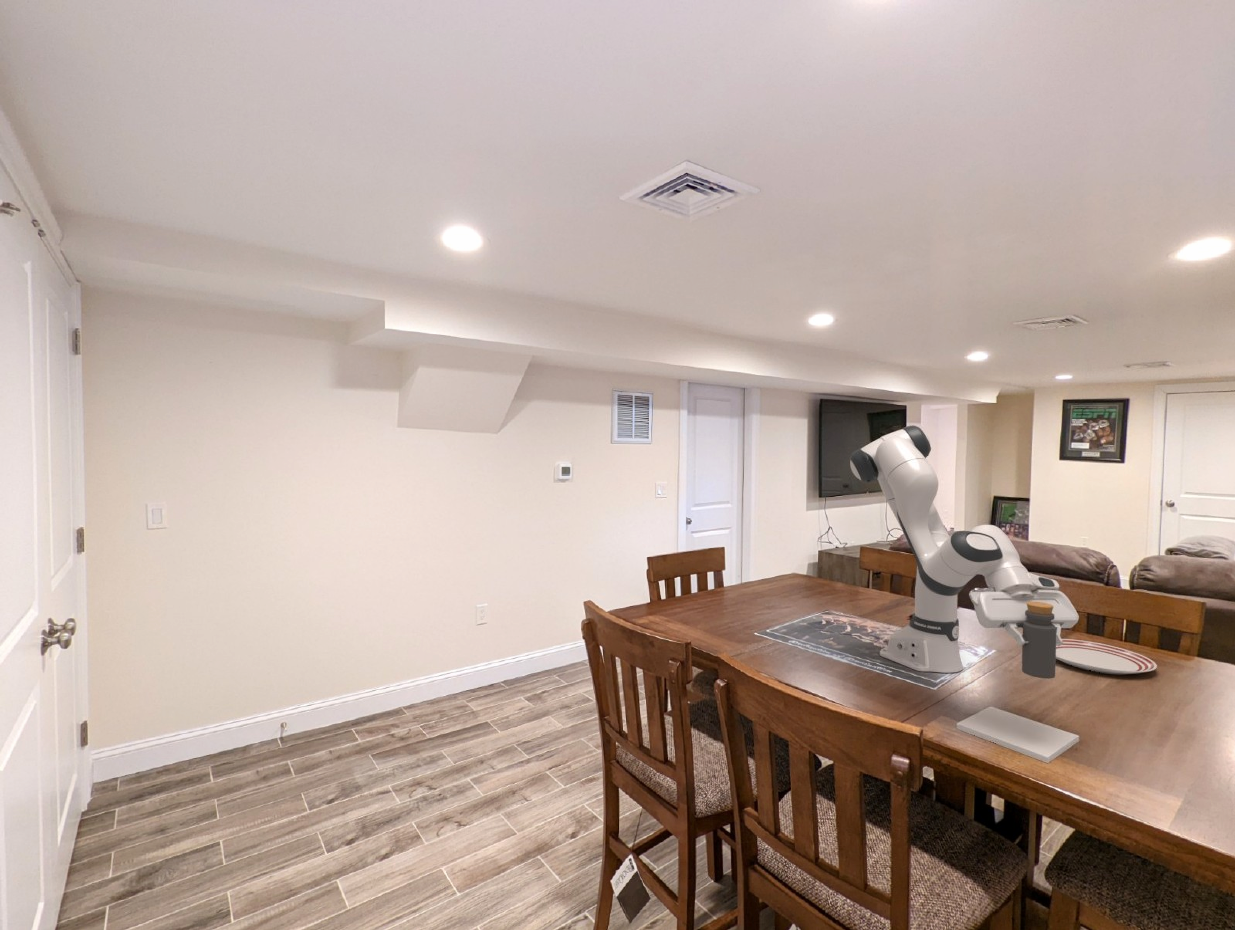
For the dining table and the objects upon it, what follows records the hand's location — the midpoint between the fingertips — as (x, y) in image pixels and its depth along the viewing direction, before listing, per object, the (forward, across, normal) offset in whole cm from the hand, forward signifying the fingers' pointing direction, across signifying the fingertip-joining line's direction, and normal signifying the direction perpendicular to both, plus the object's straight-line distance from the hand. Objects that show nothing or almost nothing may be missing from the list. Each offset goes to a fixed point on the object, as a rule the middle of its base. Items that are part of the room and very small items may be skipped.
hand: (1041, 644), depth 126 cm
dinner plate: (-20, +50, +52) cm, 75 cm away
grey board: (+12, -1, +20) cm, 23 cm away
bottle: (+4, 0, +5) cm, 7 cm away
